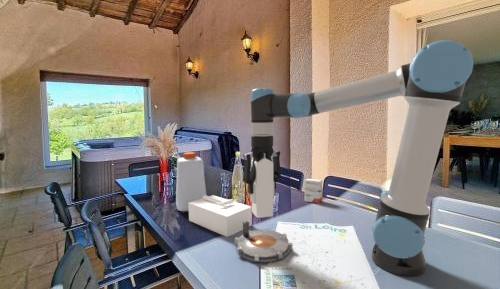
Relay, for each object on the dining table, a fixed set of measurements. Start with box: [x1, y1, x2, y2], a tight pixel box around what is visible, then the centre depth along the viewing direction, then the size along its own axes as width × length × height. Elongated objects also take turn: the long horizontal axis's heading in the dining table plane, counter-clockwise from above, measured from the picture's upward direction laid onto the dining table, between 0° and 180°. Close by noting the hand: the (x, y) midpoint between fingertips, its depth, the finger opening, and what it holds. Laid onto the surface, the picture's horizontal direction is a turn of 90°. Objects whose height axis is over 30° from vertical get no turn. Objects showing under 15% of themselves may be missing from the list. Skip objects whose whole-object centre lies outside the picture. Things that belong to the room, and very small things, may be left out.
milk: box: [251, 153, 274, 219], centre depth 95 cm, size 6×6×22 cm
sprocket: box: [234, 221, 293, 261], centre depth 97 cm, size 20×20×7 cm
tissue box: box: [188, 194, 253, 238], centre depth 120 cm, size 14×25×11 cm, turn 48°
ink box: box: [304, 178, 323, 204], centre depth 147 cm, size 9×5×12 cm, turn 58°
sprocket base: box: [235, 243, 291, 264], centre depth 98 cm, size 19×19×1 cm
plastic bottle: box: [175, 151, 207, 212], centre depth 140 cm, size 15×15×28 cm
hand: (262, 200), depth 96 cm, fingers closed on milk, 7 cm apart
